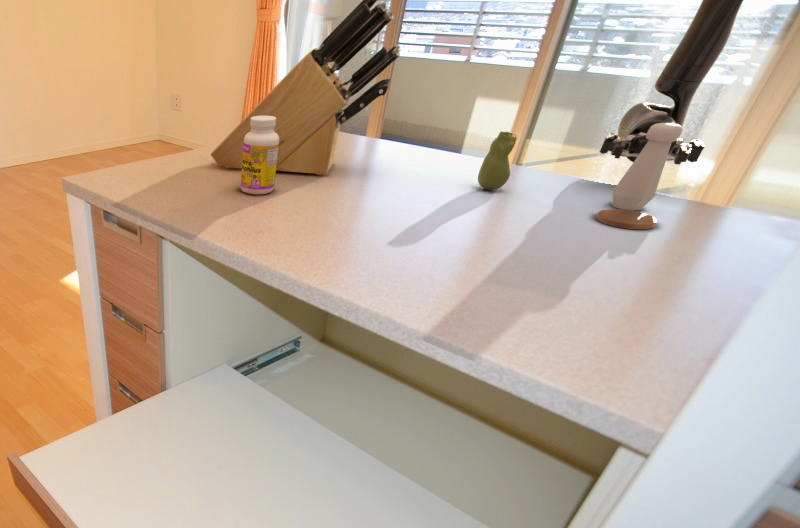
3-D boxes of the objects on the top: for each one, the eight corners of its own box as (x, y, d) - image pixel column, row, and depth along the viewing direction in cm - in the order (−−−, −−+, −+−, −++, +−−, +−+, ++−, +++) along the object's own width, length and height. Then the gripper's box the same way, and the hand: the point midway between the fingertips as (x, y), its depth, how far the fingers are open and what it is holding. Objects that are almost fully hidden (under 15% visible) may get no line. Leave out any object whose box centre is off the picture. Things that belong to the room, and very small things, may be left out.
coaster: (654, 218, 89) (657, 214, 89) (654, 233, 84) (657, 227, 84) (597, 211, 93) (599, 206, 93) (594, 224, 88) (596, 219, 88)
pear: (475, 184, 108) (493, 127, 101) (504, 187, 106) (525, 129, 99) (473, 191, 104) (491, 133, 98) (503, 194, 102) (525, 135, 96)
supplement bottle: (233, 190, 108) (237, 117, 100) (256, 184, 111) (262, 113, 103) (257, 197, 103) (264, 122, 95) (280, 191, 107) (289, 117, 99)
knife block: (372, 180, 111) (414, -12, 92) (209, 168, 121) (215, -7, 102) (376, 167, 119) (414, -12, 100) (223, 157, 130) (231, -7, 110)
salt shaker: (602, 207, 95) (641, 124, 87) (611, 200, 98) (650, 119, 90) (642, 214, 91) (687, 128, 83) (650, 206, 94) (695, 123, 86)
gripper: (615, 112, 104) (611, 126, 94) (710, 119, 98) (716, 134, 87) (596, 155, 109) (590, 172, 99) (685, 163, 102) (689, 183, 92)
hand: (649, 154), depth 93 cm, fingers open, 8 cm apart
